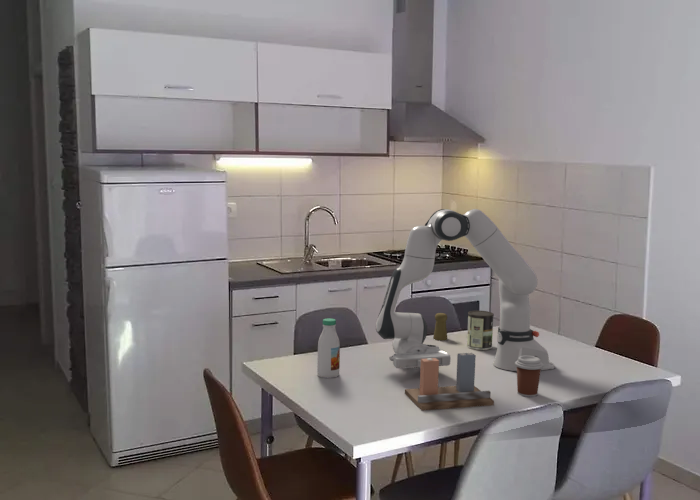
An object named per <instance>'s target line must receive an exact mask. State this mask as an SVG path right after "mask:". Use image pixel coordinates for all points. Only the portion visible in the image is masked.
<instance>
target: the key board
mask: <svg viewBox="0 0 700 500" xmlns="http://www.w3.org/2000/svg"><path fill="white" fill-rule="evenodd" d="M404 395H405V396H407V398H408V399H409V400H410V401H412V403H414V404H415V405H416V406H417V408H419V410H421V411H422V412H424V411H435V410H448V409H461V408H472V407H474V408H475V407H490V406H494V405H495V404H494V403H495V401H494V399H493V398H491V391H490V390H481V389H479V388H478V387H476V386H475V385H474V391H468V392H459V391H458V390H457V389H456V385H449V386H447V385H446V386H438V394H433V395H420V387H417V388H405V389H404Z"/></svg>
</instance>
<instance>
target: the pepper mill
mask: <svg viewBox="0 0 700 500" xmlns="http://www.w3.org/2000/svg"><path fill="white" fill-rule="evenodd" d="M434 320H435V325H434V332H433V338H432V339H433V340H434V339H435V341H439V340H440V342H441V341H442V342H443V341H447V340H448V332H447V331H448V329H447V320H448V315H447V313H443V312H437V313H435V315H434Z"/></svg>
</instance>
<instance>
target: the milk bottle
mask: <svg viewBox="0 0 700 500" xmlns="http://www.w3.org/2000/svg"><path fill="white" fill-rule="evenodd" d="M336 324H337V320H336V319H335V318H331V317H330V318H327V317H326V318H324V319H322V332H321V333H320V336H319V338H318V344H317V366H316V367H317V371H316V373H317V376H318V377H320V378H324V379H333V378H337V377H339V375H340V367H341V365H340V362H341V361H340V360H341V359H340V355H341V354H340V351H341V347H340V346H341V345H340V344H341V343H340V339H339V336H338V334H337V330H336V326H337V325H336Z"/></svg>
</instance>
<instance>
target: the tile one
mask: <svg viewBox="0 0 700 500" xmlns="http://www.w3.org/2000/svg"><path fill="white" fill-rule="evenodd" d="M419 369H420V373H419V375H420V376H419V388H420V395H433V394H438V387H439V373H440V372H439V371H440V370H439V369H440V366H439V360H438V359H436V358H427V359H421V367H420V368H419Z"/></svg>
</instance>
